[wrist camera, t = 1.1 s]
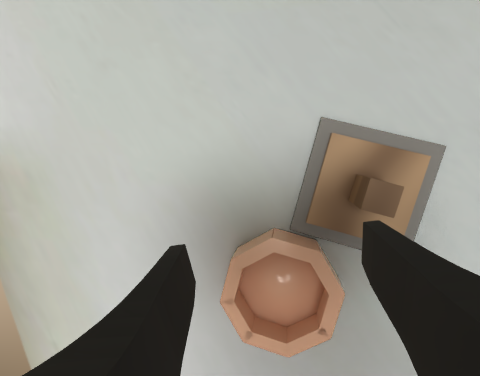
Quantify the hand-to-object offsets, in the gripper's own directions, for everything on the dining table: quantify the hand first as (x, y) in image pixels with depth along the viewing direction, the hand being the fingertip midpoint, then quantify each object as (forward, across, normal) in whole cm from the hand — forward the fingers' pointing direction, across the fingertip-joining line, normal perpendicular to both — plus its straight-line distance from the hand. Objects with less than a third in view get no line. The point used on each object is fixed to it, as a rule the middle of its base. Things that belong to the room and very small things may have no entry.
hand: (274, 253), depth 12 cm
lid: (+11, -8, +4) cm, 13 cm away
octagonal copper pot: (+9, 0, +10) cm, 14 cm away
